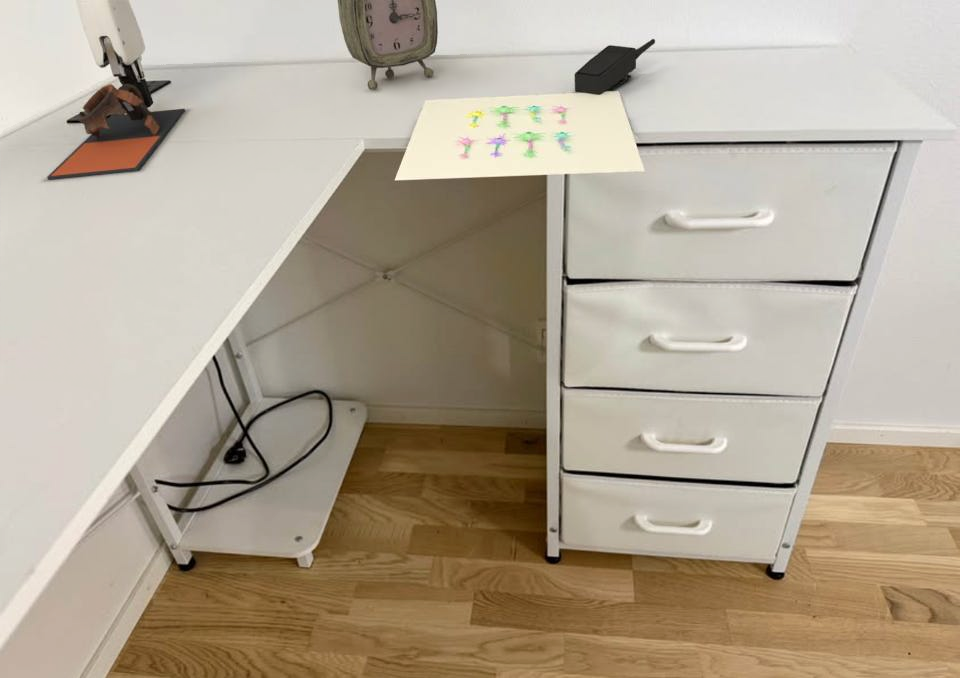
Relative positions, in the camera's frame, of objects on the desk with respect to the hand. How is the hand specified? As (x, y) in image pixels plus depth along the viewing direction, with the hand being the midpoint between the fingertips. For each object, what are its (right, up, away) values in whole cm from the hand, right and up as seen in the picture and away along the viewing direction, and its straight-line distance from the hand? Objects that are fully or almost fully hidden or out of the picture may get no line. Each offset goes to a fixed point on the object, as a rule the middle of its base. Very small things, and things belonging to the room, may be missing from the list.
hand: (142, 106), depth 110 cm
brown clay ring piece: (+1, -6, -6) cm, 9 cm away
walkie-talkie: (+77, +4, +1) cm, 77 cm away
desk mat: (+1, -8, -8) cm, 11 cm away
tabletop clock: (+40, +8, +10) cm, 42 cm away
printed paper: (+60, -9, -16) cm, 63 cm away
